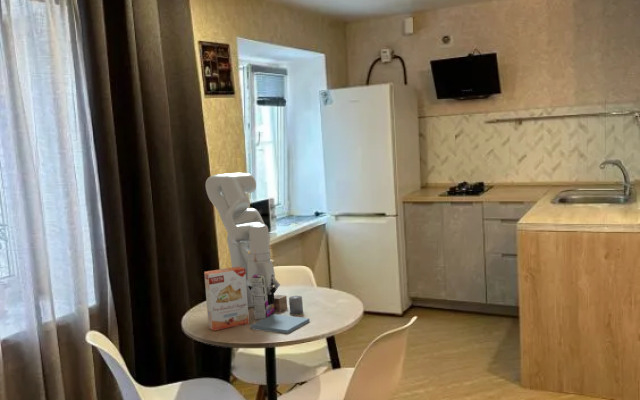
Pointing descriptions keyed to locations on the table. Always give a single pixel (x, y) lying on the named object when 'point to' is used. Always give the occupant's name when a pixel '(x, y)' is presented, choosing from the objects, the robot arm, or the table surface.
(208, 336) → the table surface
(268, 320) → the slate board
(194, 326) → the table surface
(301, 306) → the charcoal cylinder
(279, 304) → the walnut block
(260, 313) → the candy bar box
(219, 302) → the cracker box
